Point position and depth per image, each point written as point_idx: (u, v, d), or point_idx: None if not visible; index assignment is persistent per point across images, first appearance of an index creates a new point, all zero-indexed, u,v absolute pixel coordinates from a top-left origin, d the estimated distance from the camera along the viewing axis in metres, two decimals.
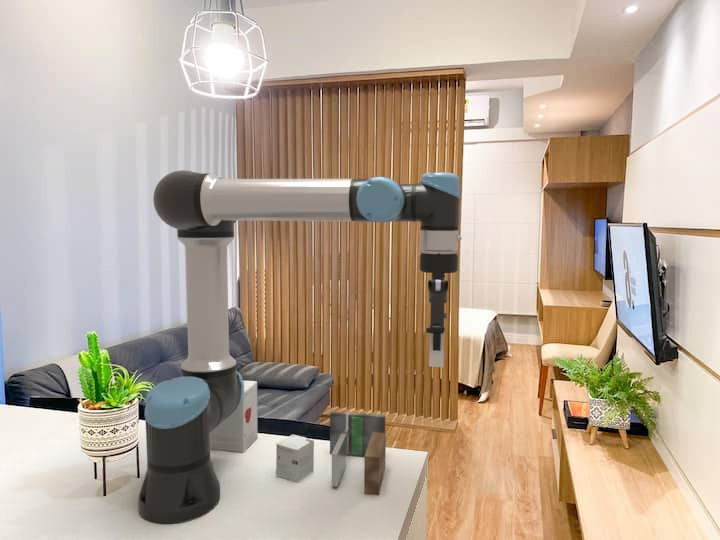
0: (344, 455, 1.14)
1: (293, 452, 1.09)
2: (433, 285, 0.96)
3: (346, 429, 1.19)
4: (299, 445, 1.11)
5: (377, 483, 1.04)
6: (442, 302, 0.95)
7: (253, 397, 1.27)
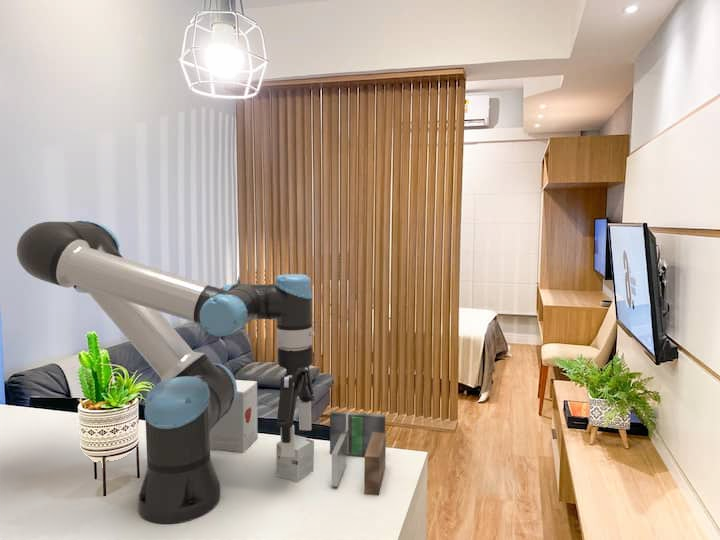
0: (344, 455, 1.14)
1: None
2: (282, 382, 1.04)
3: (346, 429, 1.19)
4: (299, 445, 1.11)
5: (377, 483, 1.04)
6: (289, 399, 1.03)
7: (253, 397, 1.27)
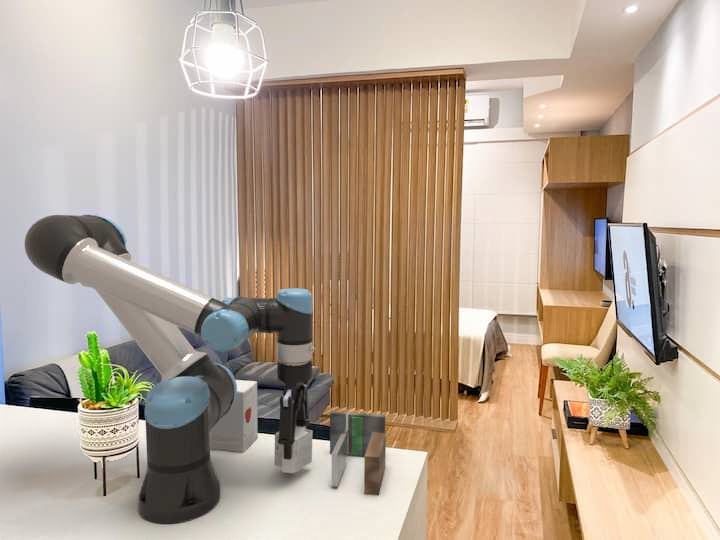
0: (344, 455, 1.14)
1: None
2: (281, 402, 1.05)
3: (346, 429, 1.19)
4: (297, 435, 1.11)
5: (377, 483, 1.04)
6: (289, 418, 1.05)
7: (253, 397, 1.27)
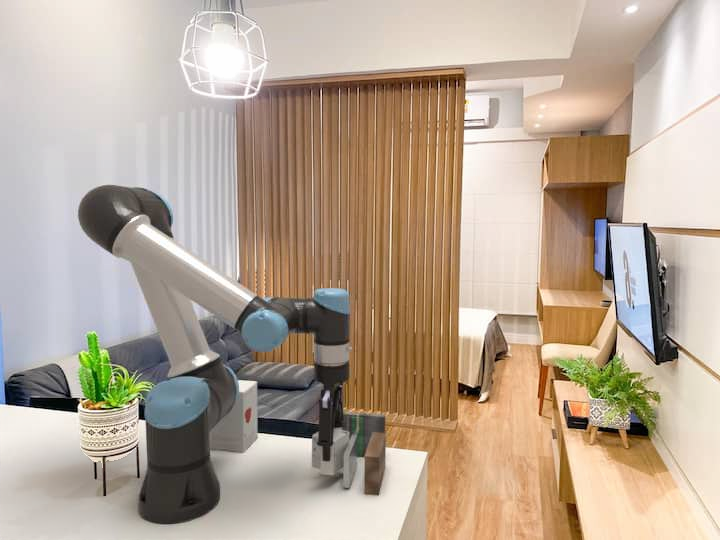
0: (355, 456, 1.14)
1: None
2: (320, 404, 1.04)
3: (357, 430, 1.19)
4: (335, 436, 1.09)
5: (377, 483, 1.04)
6: (329, 420, 1.04)
7: (253, 397, 1.27)
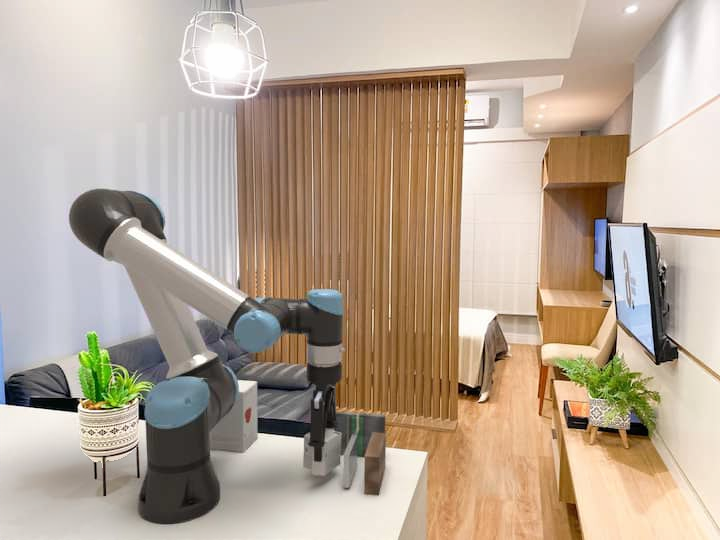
0: (355, 456, 1.14)
1: None
2: (312, 404, 1.04)
3: (357, 430, 1.19)
4: (327, 437, 1.10)
5: (377, 483, 1.04)
6: (320, 420, 1.04)
7: (253, 397, 1.27)
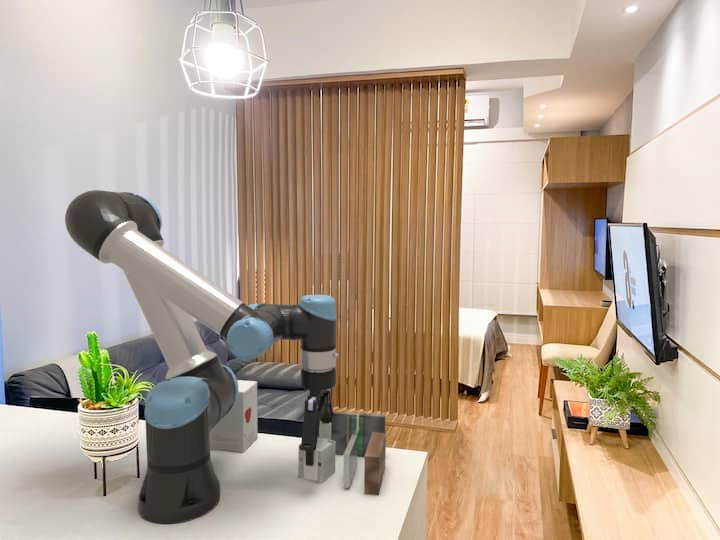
0: (355, 456, 1.14)
1: None
2: (306, 405, 1.04)
3: (357, 430, 1.19)
4: (321, 446, 1.10)
5: (377, 483, 1.04)
6: (313, 422, 1.03)
7: (253, 397, 1.27)
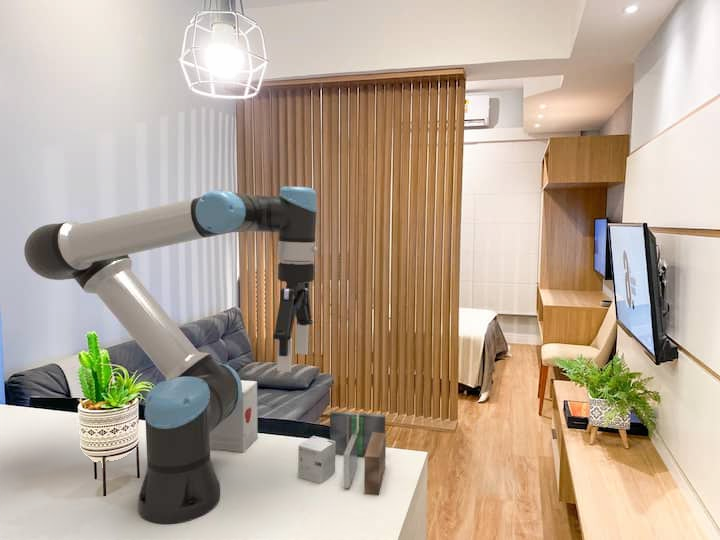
0: (355, 456, 1.14)
1: (316, 453, 1.08)
2: (282, 294, 1.01)
3: (357, 430, 1.19)
4: (321, 446, 1.10)
5: (377, 483, 1.04)
6: (288, 310, 1.00)
7: (253, 397, 1.27)
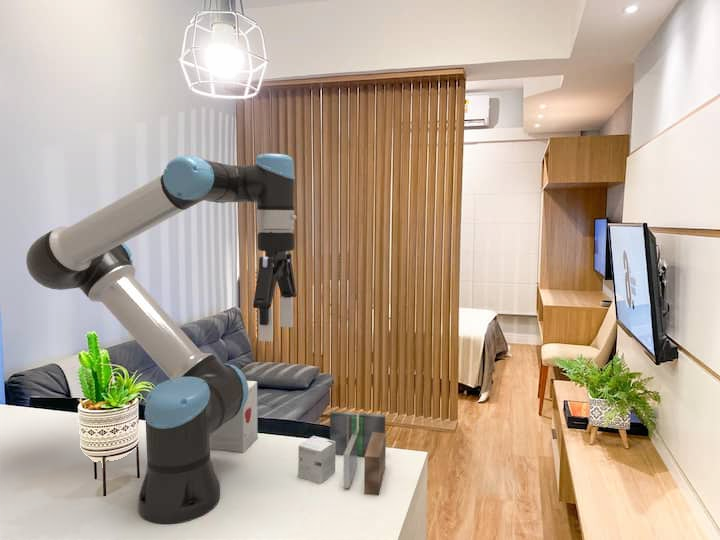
0: (355, 456, 1.14)
1: (316, 453, 1.08)
2: (260, 262, 1.00)
3: (357, 430, 1.19)
4: (321, 446, 1.10)
5: (377, 483, 1.04)
6: (267, 278, 0.99)
7: (253, 397, 1.27)
